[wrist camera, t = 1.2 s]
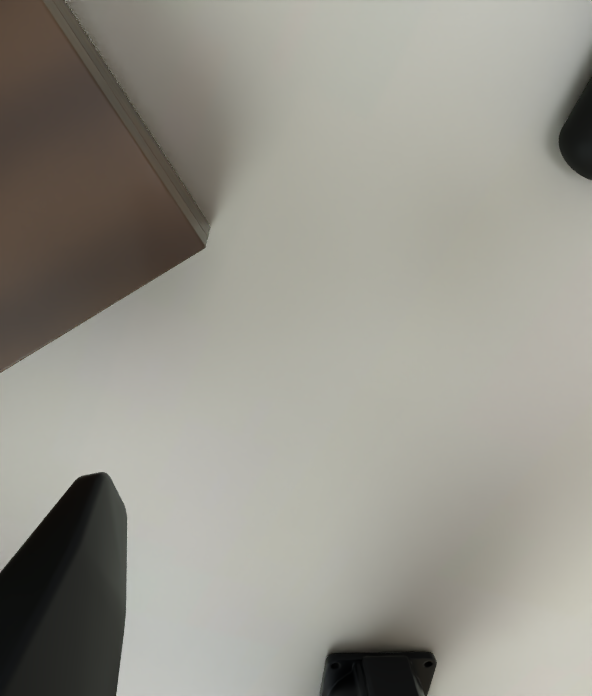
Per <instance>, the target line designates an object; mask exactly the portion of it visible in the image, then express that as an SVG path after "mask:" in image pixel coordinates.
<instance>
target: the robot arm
mask: <svg viewBox="0 0 592 696" xmlns="http://www.w3.org/2000/svg"><path fill="white" fill-rule="evenodd" d="M126 568H127V514H126V509H125V506H124V503H123V501H122V500H121V498H120V496H119V494H118V492H117V490H116V488H115V486H114V484H113V482H112V480H111V478H110V476H109V475H108V474H107V473H105V472H100V473H94V474H89V475H84V476H81V477H79V478H78V479H76V480H75V481H74V483H73V484H72V485H71V486H70V488H69V489H68V490H67V491H66V492H65V494H64V495H63V496H62V497H61V499H60V500H59V501H58V502H57V504H56V505H55V506H54V507H53V508H52V510H51V511H50V512H49V513H48V515H47V516H46V517H45V518H44V520H43V521H42V522H41V523H40V524H39V526H38V527H37V528H36V529H35V531H34V532H33V533H32V534H31V536H30V537H29V538H28V539H27V540H26V542H25V543H24V544H23V545H22V547H21V548H20V549H19V550H18V552H17V553H16V554H15V555H14V556H13V558H12V559H11V560H10V561H9V563H8V564H7V565H6V566H5V567H4V569H3V570H2V571H1V572H0V696H116V692H117V684H118V676H119V668H120V660H121V652H122V644H123V636H124V626H125V616H126ZM436 663H437V662H436V659H435V656H434V654H433V653H431V652H399V653H336V654H331V655H329V656H328V657H327V658H326V662H325V668H324V673H323V679H322V684H321V690H320V695H319V696H427V694H428V691H429V688H430V684H431V681H432V678H433V674H434V671H435V667H436Z"/></svg>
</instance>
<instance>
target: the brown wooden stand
mask: <svg viewBox="0 0 592 696" xmlns="http://www.w3.org/2000/svg"><path fill="white" fill-rule="evenodd" d="M209 231H210V225H209V223H208V222H207V220H206V219H205V217H204V216H203V214H202V213H201V211H200V209H199V208H198V206H197V205H196V203H195V202H194V200H193V199H192V197H191V196H190V194H189V192H188V191H187V189H186V188H185V186H184V185H183V183H182V182H181V180H180V179H179V177H178V175H177V174H176V172H175V171H174V169H173V168H172V166H171V165H170V163H169V162H168V160H167V158H166V157H165V155H164V154H163V152H162V151H161V149H160V148H159V146H158V145H157V143H156V141H155V140H154V138H153V137H152V135H151V134H150V132H149V131H148V129H147V128H146V126H145V124H144V123H143V121H142V120H141V118H140V117H139V115H138V114H137V112H136V111H135V109H134V107H133V106H132V104H131V103H130V101H129V100H128V98H127V97H126V95H125V94H124V92H123V90H122V89H121V87H120V86H119V84H118V83H117V81H116V80H115V78H114V77H113V75H112V73H111V72H110V70H109V69H108V67H107V66H106V64H105V63H104V61H103V60H102V58H101V56H100V55H99V53H98V52H97V50H96V49H95V47H94V46H93V44H92V43H91V41H90V39H89V38H88V36H87V35H86V33H85V32H84V30H83V29H82V27H81V26H80V24H79V22H78V21H77V19H76V18H75V16H74V15H73V13H72V12H71V10H70V9H69V7H68V6H67V4H66V2H65V1H64V0H0V373H1V372H3V371H4V370H6V369H8V368H9V367H11V366H13V365H14V364H16V363H17V362H19V361H21V360H22V359H24V358H26V357H27V356H29V355H31V354H32V353H34V352H35V351H37V350H39V349H40V348H42V347H44V346H45V345H47V344H49V343H50V342H52V341H54V340H55V339H57V338H58V337H60V336H62V335H63V334H65V333H67V332H68V331H70V330H72V329H73V328H75V327H76V326H78V325H80V324H81V323H83V322H85V321H86V320H88V319H90V318H91V317H93V316H95V315H96V314H98V313H99V312H101V311H103V310H104V309H106V308H108V307H109V306H111V305H113V304H114V303H116V302H117V301H119V300H121V299H122V298H124V297H126V296H127V295H129V294H131V293H132V292H134V291H136V290H137V289H139V288H140V287H142V286H144V285H145V284H147V283H149V282H150V281H152V280H154V279H155V278H157V277H158V276H160V275H162V274H163V273H165V272H167V271H168V270H170V269H172V268H173V267H175V266H177V265H178V264H180V263H181V262H183V261H185V260H186V259H188V258H190V257H191V256H193V255H195V254H196V253H198V252H199V251H201V250H203V249H204V248H205V247H206V243H207V239H208V235H209Z"/></svg>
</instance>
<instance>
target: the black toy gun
mask: <svg viewBox="0 0 592 696" xmlns="http://www.w3.org/2000/svg"><path fill="white" fill-rule="evenodd" d="M559 148H560V151H561V154H562V156H563V158H564V160H565V161H566V162H567V164H568V165H569V166H570V167H571V168H572V169H573V170H574V171H576V172H577V173H578V174H580V175H582V176H583V177H585V178H587V179H590V180H592V77H591V79H590V81H589V82H588V84H587V86H586V88H585V89H584V91H583V93H582V94H581V96H580V98H579V100H578V101H577V103H576V105H575V107H574V108H573V110H572V112H571V113H570V115H569V117H568V119H567V120H566V122H565V124H564V125H563V127H562V129H561V131H560V135H559Z"/></svg>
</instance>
